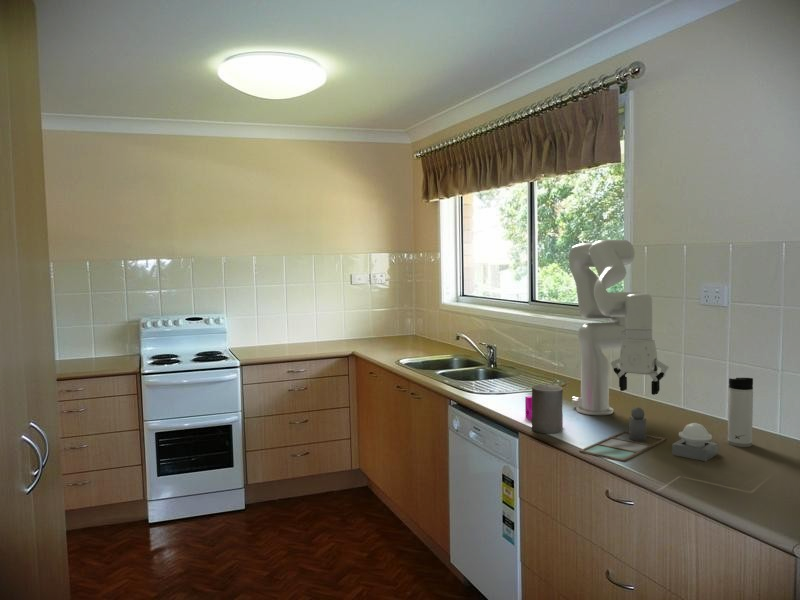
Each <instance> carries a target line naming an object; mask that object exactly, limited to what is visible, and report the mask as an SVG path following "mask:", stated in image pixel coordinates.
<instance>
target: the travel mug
mask: <svg viewBox="0 0 800 600" xmlns="http://www.w3.org/2000/svg"><path fill="white" fill-rule="evenodd" d="M753 386H754V378H753V377H735V378H728V395H727V396H728V399H727V401H728V402H727V404H728V405H727V410H728V411H727V443H728V444H729V445H730V446H733V447H737V448H749V447H752V445H753V411H754V410H753V409H754V408H753V407H754V406H753V405H754V387H753Z"/></svg>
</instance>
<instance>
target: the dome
mask: <svg viewBox="0 0 800 600" xmlns="http://www.w3.org/2000/svg"><path fill="white" fill-rule="evenodd" d="M678 437H679V438H681V439H684V440H685V441H686V445H689V446H694V447H699V448H703V447H705V443H706V441H708V442H710V441H711V440H713V435H712V434H710V433H709V432H708V431H707V429H706V428H705V426H704V425H702V424H699V423H698V422H691V423H688V425H687V426H686V427H685V426H684V428H683V429H682V431H679V432H678Z"/></svg>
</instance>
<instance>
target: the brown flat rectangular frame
mask: <svg viewBox="0 0 800 600" xmlns="http://www.w3.org/2000/svg"><path fill="white" fill-rule="evenodd" d="M623 434H629V431H627V430H622V431H621V432H618V433H616V434H614V435H611V436H608V437H606V438H605V439H603V440H600V441H598V442H596V443H593V444H591V445H589V446H586V447H584V448H581V449H580V450H579V453H583V454H586V455H591V456H592V455H593V456H595V457H601V458H605V459H610V460H614V461H618V462H623V463H625V462H627V461H629V460H631V459H633V458H635V457H636V456H638V455H640V454H642V453H644V452H647V451H648V450H650V449H653V448H654V447H655V446H657V445H660V444H662V443H664V442H666V441H667V438H665V437H660V436H653V435H648V434H646V438H650V439H655V440H656V439H657V440H658V441H656V442H653V443H652V444H650V443H644V442H636V441H632V440H630V439H625V438H621V437H620V438H619V436H622V435H623ZM660 439H661V440H660ZM663 441H664V442H663ZM661 442H662V443H661Z"/></svg>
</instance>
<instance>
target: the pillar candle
mask: <svg viewBox="0 0 800 600" xmlns="http://www.w3.org/2000/svg"><path fill="white" fill-rule="evenodd" d="M531 396H532V421H531V430H532V432H533V431H534V432H535V433H538V434H539V433H540V434H557V433H558V434H559V433H561V432H562V431H563V427H562V414H563V387H562V386H559V385H554V384H548V383H546V384H537V385H533V386H532V387H531Z"/></svg>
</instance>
